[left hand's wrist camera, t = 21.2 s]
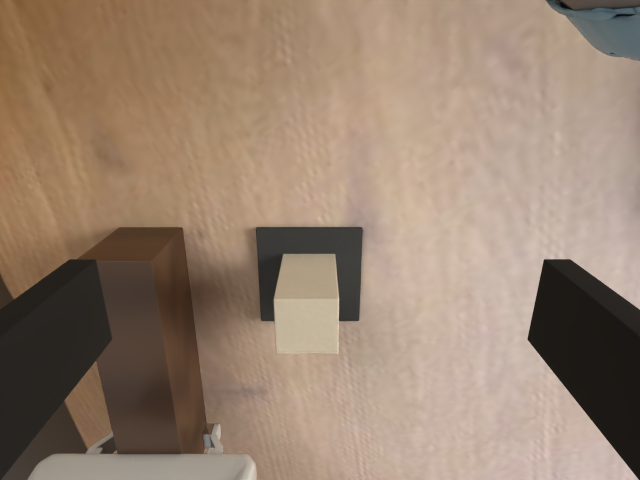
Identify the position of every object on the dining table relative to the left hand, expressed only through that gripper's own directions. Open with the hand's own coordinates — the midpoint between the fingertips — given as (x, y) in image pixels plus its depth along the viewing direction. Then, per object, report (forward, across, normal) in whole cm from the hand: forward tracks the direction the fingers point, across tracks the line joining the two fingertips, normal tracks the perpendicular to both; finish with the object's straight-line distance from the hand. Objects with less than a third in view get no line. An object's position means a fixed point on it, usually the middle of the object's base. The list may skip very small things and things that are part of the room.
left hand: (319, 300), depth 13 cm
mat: (+27, -1, -12) cm, 29 cm away
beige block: (+26, -1, -12) cm, 29 cm away
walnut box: (+27, -16, -20) cm, 37 cm away
